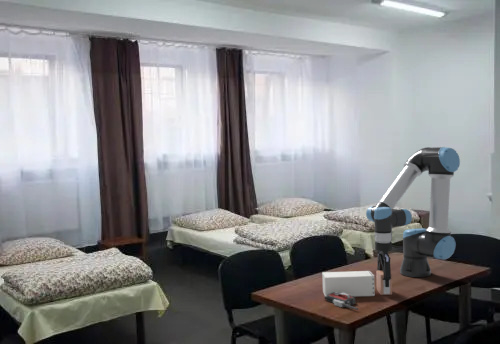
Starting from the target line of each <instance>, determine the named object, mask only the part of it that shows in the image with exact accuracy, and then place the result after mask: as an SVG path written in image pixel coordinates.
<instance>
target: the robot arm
mask: <svg viewBox="0 0 500 344" xmlns="http://www.w3.org/2000/svg"><path fill="white" fill-rule="evenodd" d="M460 163H461V159H460V156H459V153H458V152H457V150H455V148H452V147H445V146H443V147H441V146H440V147H438V146H437V147H435V146H434V147H423V148H420V149H419V150H417V151H415V152H414V153H413V154H411V155H410V156H409V158H407V160H406V162H405V161H404V164H403V168H402V170H401V171H400V173H399V174H398V175H397V177H395V179H394V181H393V182H391V185H390V186H389V187H388V189H387V190H386V191H385V192H384V194H383V195H382V197H381V198H380V199H379V201H378V202H377V203H376V204H375V205H372V206H369V207H368V208H367V209H366V212H365V215H366V219H367V220H368V221H369V222H372V223H374V234H373V237H374V240H375V242H374V249H375V251H377V253H376V254H377V267H376V270H383V275H384V278H383V279H382V280H383V294H390V279H391V274H392V273H391V270H392V269H391V256H390V255H389V252H391V251H392V250H393V242H392V241H393V228H395V227H401V226H402V227H404V226H407V225H409V224H411V222H412V221H413V220H412V212H411V211H410V210H409V209H407V208H400V209H397V208H395V207H396V205H397V204H398V203H399V201H400V200H401V199H402V197H403V196H404V195H405V193H406V192H407V190H408V189H409V188H410V187H411V185H412V184H413V183H414V181H415V179H417V177H420V176H421V175H422V174H423V173H424V172H427V171H428V172H427V173H428V176H429V177H430V178H431V179H430V180H431V181H430V198H429V199H430V201H429V220H428V227H427V228H422V227H421V228H409V229H405V230H403V233H402V249H403V250H402V253H403V258H402V262H401V264H400V268H399V274H400V275H403V276H405V277H410V278H411V277H412V278H425V277H429V276H431V274H432V269H431V266H430V263H429V259H428V257H429V258H433V259H436V260H447V259H449V258H450V257H452V255H453V254H454V253H455V250H456V246H457V244H456V240H455V238H454V237H453V236H451V235H452V232H451V230H450V229H449V227H448V226H449V209H450V189H451V188H450V187H451V179H452V178H453V177H454V175H455V172H456V171H458V170H459V167H460Z"/></svg>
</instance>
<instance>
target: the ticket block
mask: <svg viewBox="0 0 500 344" xmlns="http://www.w3.org/2000/svg"><path fill="white" fill-rule="evenodd" d="M321 275H322V276H321V278H322V279H321V280H322V293H323V295H324V298H325V297H327V294H330V293H333V292H339V293H346V294H349V295H350V297H353V298H355V297H374V296H375V295H376V292H375V291H376V289H375V274H373V272H372V271H370V270H357V271H355V270H354V271H326V272H325V271H322V274H321Z"/></svg>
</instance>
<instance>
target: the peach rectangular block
mask: <svg viewBox="0 0 500 344" xmlns="http://www.w3.org/2000/svg"><path fill="white" fill-rule="evenodd" d="M375 276H376V291H377V292H378V293H379V294H380V295H381V296H385V295H386V296H387V295H388V296H389V295H391V296H392V295H393V279H392V278H393V277H392V276H393V275H392V273H391V279H390V294H383V280H382V279H383V278H384V275H383V270H377V269H376V275H375Z"/></svg>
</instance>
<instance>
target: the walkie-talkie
mask: <svg viewBox="0 0 500 344" xmlns="http://www.w3.org/2000/svg"><path fill="white" fill-rule="evenodd" d="M324 299H325V300H326V302H330V303H333V305H334V306H336V307H339V308H341V307H342V308H348V309H351V310H353V309H354V310H357V311H359V308H358V307H356V306H353V305H355V304H356V297H350V295H349V294H346V293H339V292H333V293H330V294H327V297H325V296H324Z"/></svg>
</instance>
